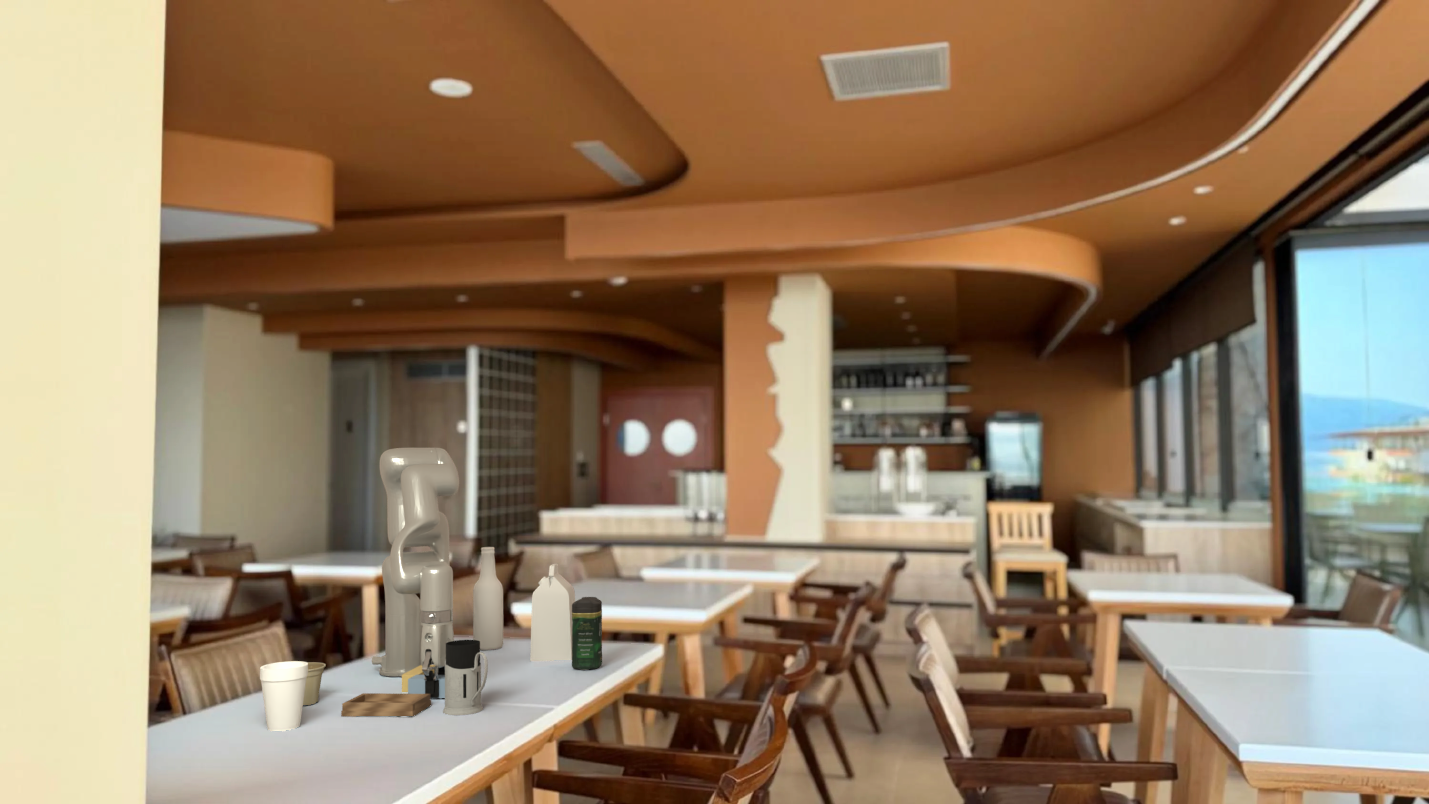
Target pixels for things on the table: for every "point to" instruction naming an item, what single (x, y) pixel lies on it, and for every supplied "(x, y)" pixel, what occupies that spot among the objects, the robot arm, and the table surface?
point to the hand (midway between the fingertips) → (436, 693)
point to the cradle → (386, 704)
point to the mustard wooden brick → (410, 674)
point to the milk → (552, 618)
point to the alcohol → (488, 604)
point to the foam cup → (283, 693)
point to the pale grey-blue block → (418, 685)
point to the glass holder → (463, 677)
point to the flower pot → (313, 682)
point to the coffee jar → (587, 633)
